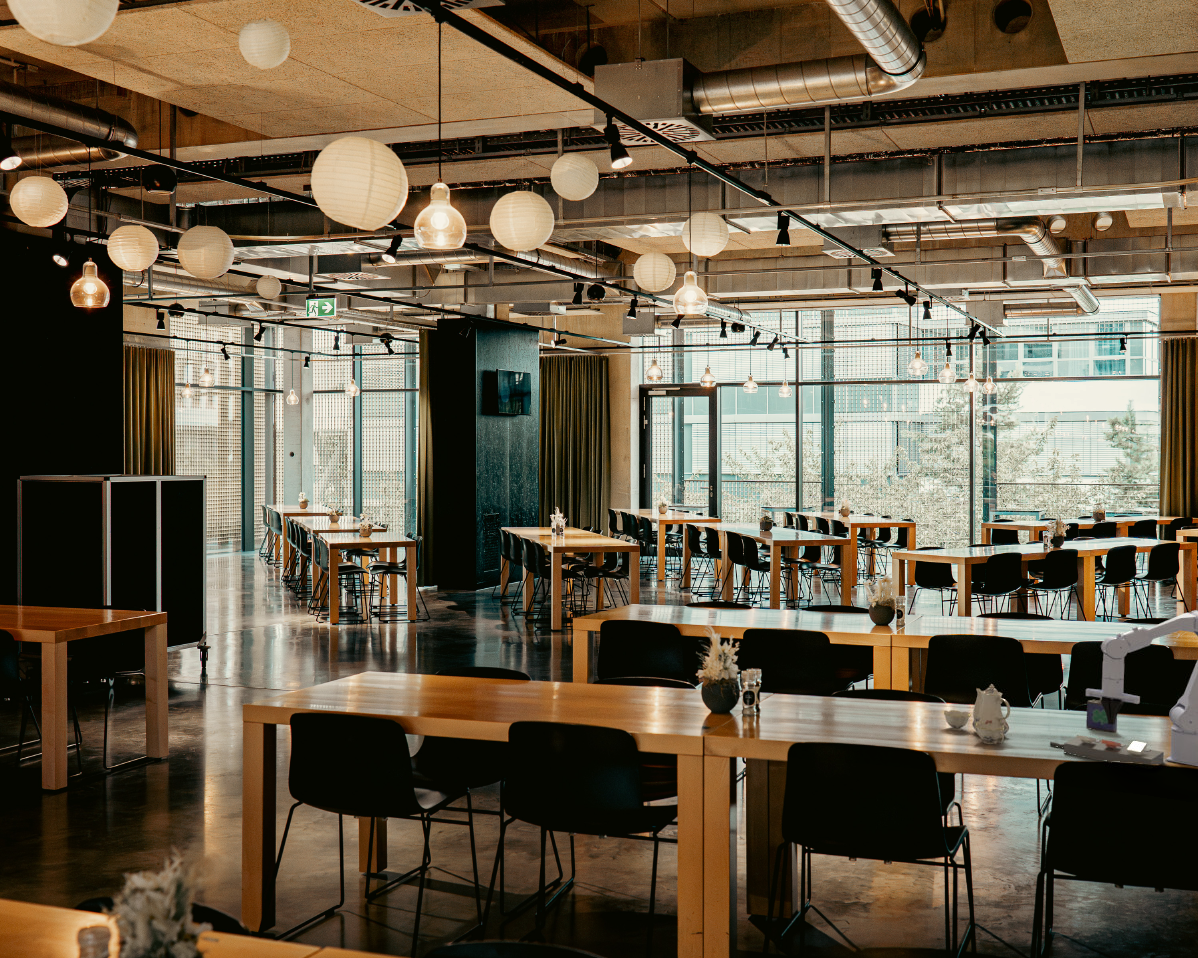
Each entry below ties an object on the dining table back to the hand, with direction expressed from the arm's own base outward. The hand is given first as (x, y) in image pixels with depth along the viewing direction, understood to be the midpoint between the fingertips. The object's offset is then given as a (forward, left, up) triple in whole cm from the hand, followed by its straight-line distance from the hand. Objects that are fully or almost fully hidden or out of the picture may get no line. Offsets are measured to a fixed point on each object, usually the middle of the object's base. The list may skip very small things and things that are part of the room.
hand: (1111, 723), depth 319 cm
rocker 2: (-8, +4, -6) cm, 11 cm away
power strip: (+2, +2, -9) cm, 10 cm away
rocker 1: (+6, +4, -6) cm, 9 cm away
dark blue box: (+13, -32, -10) cm, 36 cm away
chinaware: (+37, +5, -10) cm, 38 cm away
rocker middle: (-1, +4, -6) cm, 7 cm away
